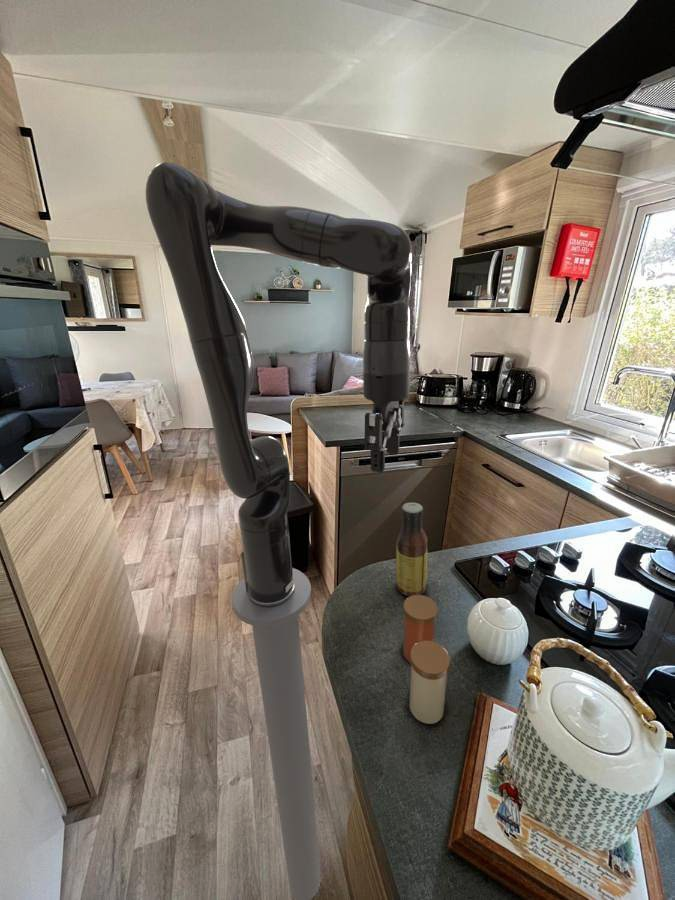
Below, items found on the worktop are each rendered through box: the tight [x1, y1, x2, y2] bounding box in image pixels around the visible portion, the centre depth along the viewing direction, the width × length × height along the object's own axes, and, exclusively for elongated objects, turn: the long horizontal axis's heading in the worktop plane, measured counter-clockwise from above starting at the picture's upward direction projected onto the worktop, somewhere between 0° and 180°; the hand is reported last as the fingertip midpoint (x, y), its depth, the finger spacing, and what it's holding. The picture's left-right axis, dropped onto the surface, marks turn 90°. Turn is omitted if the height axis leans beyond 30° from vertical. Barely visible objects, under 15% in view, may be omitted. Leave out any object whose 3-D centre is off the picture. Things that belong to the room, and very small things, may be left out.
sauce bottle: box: [395, 502, 429, 597], centre depth 77 cm, size 6×6×20 cm
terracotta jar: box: [402, 594, 438, 664], centre depth 64 cm, size 5×5×10 cm
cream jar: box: [408, 641, 451, 725], centre depth 55 cm, size 5×5×10 cm
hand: (385, 461), depth 67 cm, fingers open, 8 cm apart
